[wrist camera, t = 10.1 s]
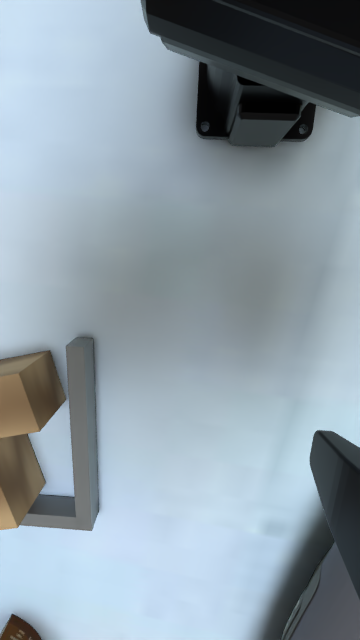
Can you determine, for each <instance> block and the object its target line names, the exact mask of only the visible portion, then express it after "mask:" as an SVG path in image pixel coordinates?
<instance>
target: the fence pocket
mask: <svg viewBox="0 0 360 640" xmlns="http://www.w3.org/2000/svg"><path fill="white" fill-rule="evenodd" d="M66 358H67V375H68V392H69V409H70V426H71V443H72V460H73V477H74V494H75V497H62V496H49V495H38V496H37V498H36V499H35V501H34V503H33V504H32V506H31V507H30V509H29V511H28V512H27V514H26V515H25V517H24V519H23V520H22V522H21V523H20V525H24V526H37V527H49V528H62V529H74V530H87V531H92V529H93V526H94V523H95V520H96V518H97V515H98V512H99V499H98V469H97V440H96V410H95V381H94V351H93V338H75V339H74V340H73V341H71V342H70V343H69V344H68V345H67V346H66Z"/></svg>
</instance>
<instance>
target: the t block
mask: <svg viewBox="0 0 360 640" xmlns="http://www.w3.org/2000/svg"><path fill="white" fill-rule="evenodd" d="M65 400H66V397H65V394H64V391H63V388H62V385H61V382H60V379H59V376H58V373H57V370H56V367H55V364H54V361H53V358H52V355H51V352H50V350H49V351H43V352H38V353H33V354H28V355H23V356H17V357H12V358H7V359H2V360H0V530H4V529H12V528H18V527H19V525H20V523H21V522H22V520H23V519H24V517H25V515H26V514H27V512H28V511H29V509H30V507H31V506H32V504H33V503H34V501H35V499H36V498H37V496H38V495H39V493H40V491H41V490H42V488H43V487H44V485H45V480H44V478H43V475H42V472H41V470H40V467H39V464H38V462H37V459H36V456H35V454H34V451H33V448H32V446H31V443H30V440H29V438H28V435H27V433H33V432H40V431H41V429H42V428H43V427H44V426H45V425H46V423H47V422H48V421H49V420H50V418H51V417H52V416H53V415H54V414H55V412H56V411H57V410H58V409H59V408H60V406H61V405H62V404H63V403H64V402H65Z"/></svg>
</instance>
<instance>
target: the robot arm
mask: <svg viewBox="0 0 360 640" xmlns="http://www.w3.org/2000/svg"><path fill="white" fill-rule="evenodd" d="M141 5H142V10H143V15H144V20H145V22H146V25H147V27H148V29H149V32H150V33H151V34H154V35H156V36H159V37H161V40H162V42H163V44H164V45H165V47H166V48H167V49H168V50H171V51H173V52H176V53H179V54H181V55H184V56H187V57H189V58H192V59H195V60H197V61H199V81H198V101H197V121H196V131H197V134H198V136H199V137H201V138H204V139H229V140H228V141H229V142H230V144H231V145H235V146H266V147H274V146H276V145H277V144H278V143H279V142H280V141H295V142H301V141H304V140H306V139H307V138H308V137H309V136H310V135H311V133H312V130H313V123H314V115H315V108H316V105H319V106H321V107H324V108H327V109H329V110H332V111H335V112H337V113H340V114H343V115H346V116H348V117H357V116H360V0H141ZM203 124H207V125H208V126H209V130H208V131H205V132H204V131H202V130H201V126H202V125H203ZM299 127H304V128H305V131H306V132H305V134H303V135H302V134H300V132H299ZM310 466H311V470H312V473H313V477H314V480H315V483H316V486H317V490H318V493H319V496H320V500H321V503H322V506H323V509H324V513H325V516H326V519H327V522H328V525H329V528H330V531H331V533H332V536H333V538H334V541H335V543H336V545H337V548H338V550H339V553H340V555H341V558H342V560H343V562H344V565H345V567H346V570H347V572H348V574H349V577H350V579H351V582H352V584H353V586H354V589H355V591H356V594H357V596H358V598H359V601H360V448H359V447H358V446H356V445H354V444H353V443H351V442H349V441H348V440H346V439H344V438H343V437H341V436H339V435H338V434H336V433H335V432H332V431H322V430H317V431H316V432H315V434H314V437H313V442H312V448H311V453H310Z"/></svg>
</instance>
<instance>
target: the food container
mask: <svg viewBox="0 0 360 640" xmlns="http://www.w3.org/2000/svg"><path fill="white" fill-rule="evenodd" d="M0 640H41V638H40V636H39V634H38V633H37V632H36V630H35V629H34V628H33V627H32V626H31V625H29V624H28V623H27V622H26V621H24V620H22V619H21V618H19V617H17V616H15V615H13V614H12V615H11V617H10V618H9V620H8V622H7V623H6V625H5V627H4V629H3V630H2V632H1V634H0Z"/></svg>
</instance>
